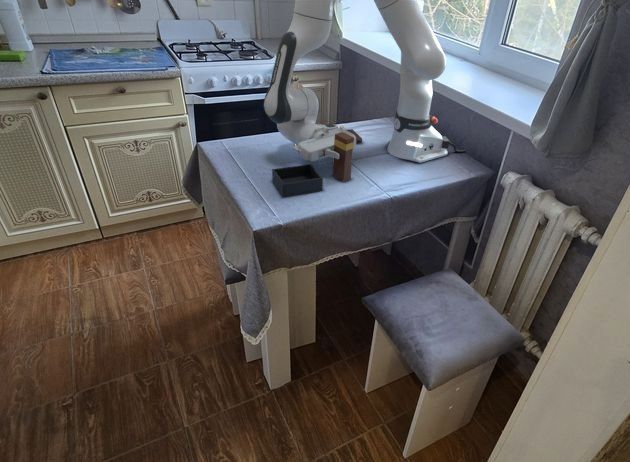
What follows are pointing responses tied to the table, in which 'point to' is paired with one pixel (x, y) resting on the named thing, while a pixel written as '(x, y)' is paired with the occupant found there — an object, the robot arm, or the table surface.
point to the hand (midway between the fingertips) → (345, 154)
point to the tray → (297, 180)
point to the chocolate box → (343, 156)
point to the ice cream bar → (358, 138)
